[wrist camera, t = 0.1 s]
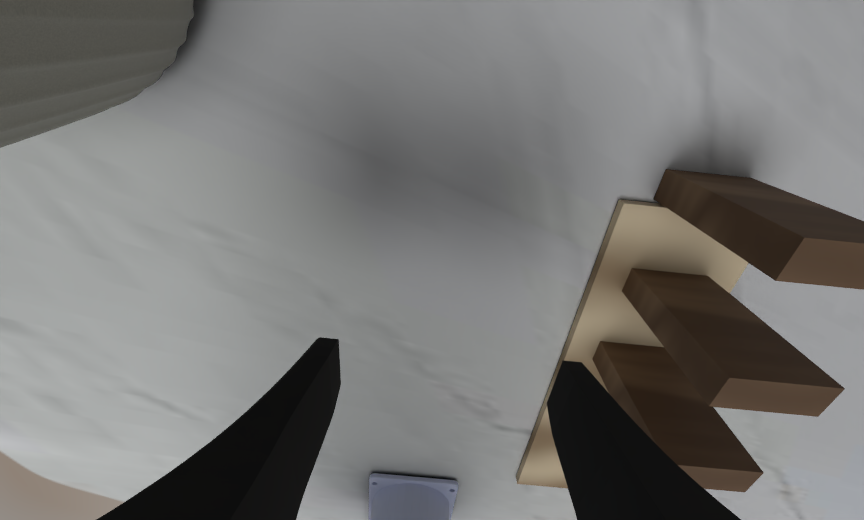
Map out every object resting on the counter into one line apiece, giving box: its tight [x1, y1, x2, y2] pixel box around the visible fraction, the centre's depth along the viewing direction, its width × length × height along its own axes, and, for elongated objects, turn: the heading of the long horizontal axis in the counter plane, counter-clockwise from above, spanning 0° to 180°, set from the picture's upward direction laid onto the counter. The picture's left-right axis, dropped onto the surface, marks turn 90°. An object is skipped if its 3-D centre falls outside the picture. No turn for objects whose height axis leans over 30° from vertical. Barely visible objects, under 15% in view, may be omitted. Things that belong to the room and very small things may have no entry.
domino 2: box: [622, 268, 845, 417], centre depth 17 cm, size 2×4×8 cm, turn 85°
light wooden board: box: [516, 199, 748, 488], centre depth 25 cm, size 26×8×1 cm, turn 175°
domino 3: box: [592, 341, 763, 492], centre depth 20 cm, size 2×4×8 cm, turn 85°
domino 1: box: [654, 169, 864, 289], centre depth 15 cm, size 2×4×8 cm, turn 84°
